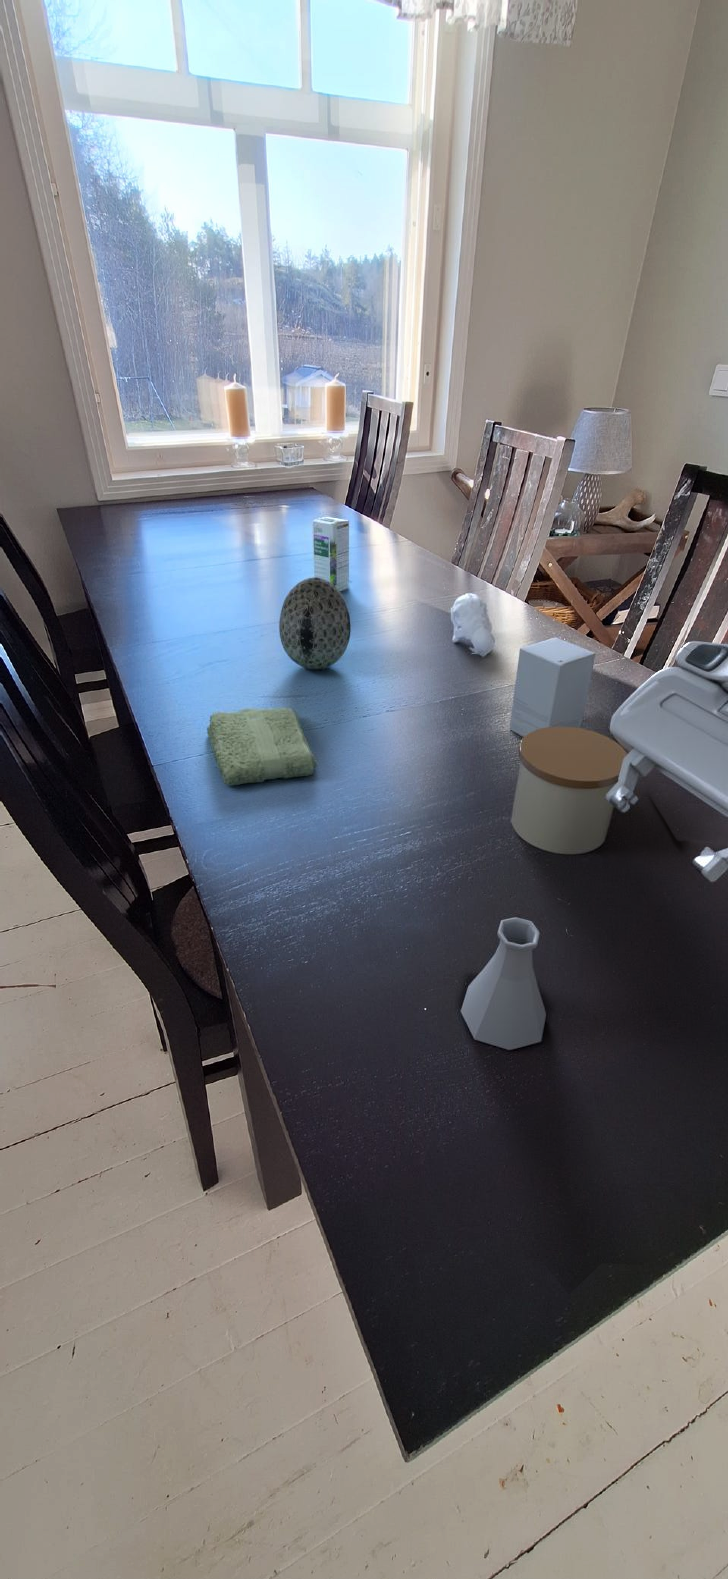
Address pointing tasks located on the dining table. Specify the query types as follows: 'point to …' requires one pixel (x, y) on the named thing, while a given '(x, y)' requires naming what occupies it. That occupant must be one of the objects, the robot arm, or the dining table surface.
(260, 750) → the washcloth
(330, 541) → the syrup box
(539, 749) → the canister
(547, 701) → the white packaging box
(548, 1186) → the dining table surface
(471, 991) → the flask
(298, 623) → the decorative egg
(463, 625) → the white bust
